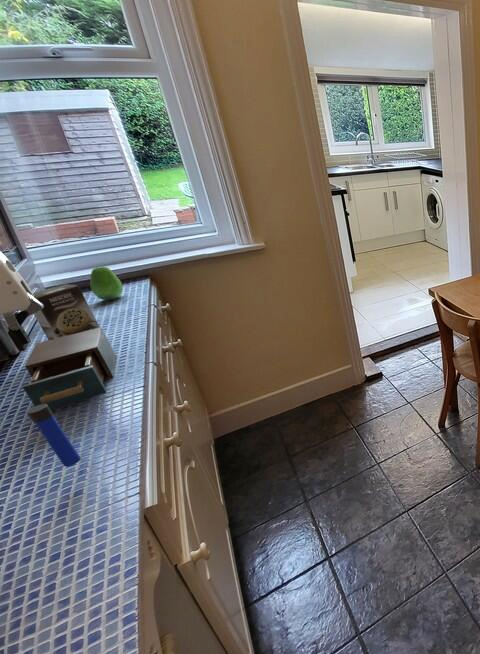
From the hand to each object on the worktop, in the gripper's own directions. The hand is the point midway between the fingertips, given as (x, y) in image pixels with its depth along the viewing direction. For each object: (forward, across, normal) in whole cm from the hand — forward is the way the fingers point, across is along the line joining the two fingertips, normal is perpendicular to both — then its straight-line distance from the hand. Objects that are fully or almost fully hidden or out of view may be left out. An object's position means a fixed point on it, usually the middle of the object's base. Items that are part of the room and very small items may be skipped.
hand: (16, 349), depth 73 cm
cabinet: (+19, 0, -27) cm, 33 cm away
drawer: (+18, 0, -15) cm, 24 cm away
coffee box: (+19, +2, -51) cm, 55 cm away
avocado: (+19, -3, -89) cm, 91 cm away
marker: (+19, -1, +11) cm, 22 cm away
